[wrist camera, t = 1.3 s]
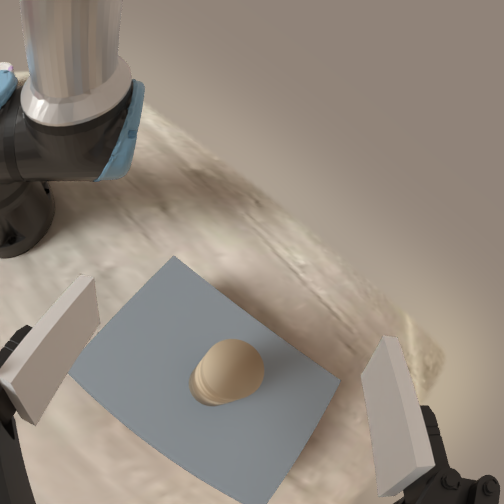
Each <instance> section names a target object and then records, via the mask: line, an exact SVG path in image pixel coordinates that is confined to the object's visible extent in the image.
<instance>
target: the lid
mask: <svg viewBox="0 0 504 504" xmlns="http://www.w3.org/2000/svg"><path fill="white" fill-rule="evenodd" d="M68 374H69V375H70V376H71V377H72V378H73V379H74V380H75V381H76V382H77V383H78V384H79V385H80V386H81V387H82V388H83V389H84V390H85V391H87V392H88V393H89V394H90V395H91V396H92V397H93V398H94V399H95V400H96V401H97V402H98V403H100V404H101V405H102V406H103V407H104V408H105V409H106V410H107V411H109V412H110V413H111V414H112V415H113V416H114V417H116V418H117V419H118V420H119V421H120V422H121V423H123V424H124V425H125V426H126V427H128V428H129V429H130V430H131V431H133V432H134V433H135V434H136V435H138V436H139V437H140V438H141V439H143V440H144V441H145V442H147V443H148V444H149V445H151V446H152V447H153V448H155V449H156V450H157V451H159V452H160V453H162V454H163V455H164V456H166V457H167V458H169V459H170V460H172V461H173V462H174V463H176V464H177V465H179V466H180V467H182V468H183V469H185V470H186V471H188V472H189V473H191V474H193V475H194V476H196V477H197V478H199V479H201V480H202V481H204V482H205V483H207V484H209V485H210V486H212V487H214V488H215V489H217V490H219V491H221V492H222V493H224V494H226V495H228V496H229V497H231V498H233V499H235V500H237V501H239V502H241V503H242V504H267V503H268V501H269V500H270V499H271V497H272V496H273V494H274V493H275V491H276V490H277V488H278V487H279V485H280V484H281V482H282V481H283V479H284V478H285V476H286V475H287V473H288V472H289V470H290V469H291V467H292V466H293V464H294V463H295V461H296V459H297V458H298V456H299V455H300V453H301V451H302V450H303V448H304V446H305V445H306V443H307V441H308V440H309V438H310V436H311V435H312V433H313V431H314V429H315V428H316V426H317V424H318V423H319V421H320V419H321V417H322V415H323V414H324V412H325V410H326V408H327V406H328V404H329V403H330V401H331V399H332V397H333V395H334V393H335V391H336V389H337V388H338V386H339V384H340V382H341V380H340V379H338V378H337V377H335V376H334V375H332V374H331V373H330V372H328V371H327V370H325V369H324V368H322V367H321V366H320V365H318V364H317V363H315V362H314V361H312V360H311V359H310V358H308V357H307V356H305V355H304V354H303V353H301V352H300V351H298V350H297V349H296V348H294V347H293V346H292V345H290V344H289V343H287V342H286V341H285V340H283V339H282V338H281V337H279V336H278V335H276V334H275V333H274V332H272V331H271V330H270V329H268V328H267V327H266V326H264V325H263V324H262V323H260V322H259V321H258V320H256V319H255V318H254V317H252V316H251V315H250V314H248V313H247V312H246V311H244V310H243V309H242V308H240V307H239V306H238V305H236V304H235V303H234V302H232V301H231V300H230V299H229V298H227V297H226V296H225V295H223V294H222V293H221V292H219V291H218V290H217V289H216V288H214V287H213V286H212V285H210V284H209V283H208V282H207V281H205V280H204V279H203V278H202V277H200V276H199V275H198V274H196V273H195V272H194V271H193V270H191V269H190V268H189V267H188V266H186V265H185V264H184V263H183V262H181V261H180V260H179V259H178V258H176V257H175V256H173V257H172V258H171V259H170V260H169V261H168V262H167V263H166V264H165V265H164V266H163V267H162V268H161V269H160V270H159V271H158V272H157V273H156V274H155V275H154V276H153V277H152V278H151V279H150V280H149V281H148V282H147V283H146V284H145V285H144V286H143V287H142V288H141V289H140V290H139V291H138V292H137V293H136V294H135V295H134V296H133V297H132V298H131V299H130V300H129V301H128V302H127V303H126V304H125V305H124V306H123V307H122V308H121V309H120V311H119V312H118V313H117V314H116V315H115V316H114V317H113V318H112V319H111V320H110V321H109V322H108V323H107V324H106V325H105V326H104V327H103V329H102V330H101V331H100V332H99V333H98V334H97V335H96V336H95V337H94V338H93V339H92V340H91V341H90V343H89V344H88V345H87V346H86V347H85V348H84V349H83V350H82V351H81V353H80V354H79V356H78V358H77V359H76V361H75V362H74V364H73V365H72V367H71V368H70V370H69V372H68Z"/></svg>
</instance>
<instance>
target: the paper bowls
mask: <svg viewBox="0 0 504 504" xmlns="http://www.w3.org/2000/svg"><path fill="white" fill-rule="evenodd" d="M0 70H9V71H10V72H13V73H14V69H13V66H12V65H11V64H10V63H6V62H0Z"/></svg>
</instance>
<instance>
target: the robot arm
mask: <svg viewBox="0 0 504 504" xmlns="http://www.w3.org/2000/svg"><path fill="white" fill-rule="evenodd" d="M122 2H123V0H20V9H21V18H22V28H23V36H24V42H25V49H26V55H27V61H28V67H29V72H30V76H29V77H28V79H27V80H26V82H25V84H24V86H17V84H18V80H17V78H16V77H15V75H14V73H13V72H10V71H9V70H0V258H9V257H14V256H17V255H19V254H22V253H24V252H25V251H27V250H29V249H30V248H32V247H33V246H34V245H35V244H36V243H38V242H39V241H40V239H41V238H42V237H43V236H44V235H45V233H46V232H47V230H48V228H49V226H50V224H51V222H52V219H53V216H54V208H55V206H54V199H53V195H52V192H51V189H50V186H49V184H48V183H47V181H93V182H99V181H101V180H113V179H120V178H122V177H123V176H125V175H126V174H127V172H128V171H129V169H130V166H131V163H132V159H133V154H134V149H135V144H136V139H137V132H138V127H139V123H140V118H141V112H142V106H143V100H144V92H145V86H144V84H143V83H142V82H140V81H136V80H135V79H132V75H131V70H130V67H129V65H128V63H127V62H126V61H125V60H124V59H123V58H122V57H120V56H119V55H118V44H119V31H120V20H121V11H122ZM99 324H100V318H99V311H98V304H97V297H96V289H95V280H94V277H90V276H86V275H83V274H80V275H79V276H78V277H77V278H76V279H75V280H74V282H73V283H72V284H71V285H70V286H69V287H68V288H67V289H66V290H65V291H64V292H63V293H62V295H61V296H60V297H59V298H58V299H57V300H56V301H55V302H54V304H53V305H52V306H51V307H50V308H49V309H48V310H47V312H46V313H45V314H44V315H43V316H42V317H41V318H40V320H39V321H38V322H37V323H36V324H35V326H34V327H30V326H28V325H26V326H24V327H23V328H21V329H19V330H18V331H16V333H15V334H14V335H13V336H12V337H11V339H10V341H8V342H7V343H6V345H5V347H3V348H2V349H1V351H0V504H36V503H35V500H34V497H33V493H32V490H31V487H30V483H29V480H28V476H27V473H26V469H25V465H24V461H23V457H22V452H21V448H20V443H19V439H18V433H17V428H16V422H15V419H14V416H13V415H14V413H15V412H16V411H17V412H18V414H19V415H20V417H21V418H22V419H24V420H25V421H27V422H29V423H31V424H33V425H35V426H36V425H37V423H38V422H39V420H40V418H41V416H42V415H43V413H44V411H45V409H46V408H47V406H48V404H49V403H50V401H51V399H52V398H53V396H54V394H55V393H56V391H57V389H58V388H59V386H60V384H61V383H62V381H63V380H64V378H65V376H66V375H67V373H68V372H69V370H70V368H71V367H72V365H73V364H74V362H75V361H76V359H77V358H78V356H79V354H80V353H81V351H82V350H83V348H84V347H85V345H86V344H87V342H88V341H89V339H90V338H91V336H92V335H93V333H94V332H95V330H96V329H97V327H98V326H99ZM361 380H362V386H363V391H364V397H365V403H366V409H367V415H368V421H369V428H370V435H371V442H372V449H373V456H374V464H375V472H376V481H377V490H378V497H386V496H395V495H397V494H398V493H400V492H401V491H403V492H404V497H402V498H401V499H399V500H398V501H397V502H395V503H394V504H498V503H499V495H500V485H499V483H498V481H497V480H496V478H495V477H493V476H491V475H485V476H483V477H481V478H480V479H479V480H477V481H476V480H470V479H465V478H461V476H460V474H459V473H458V472H457V471H456V470H455V469H452V468H450V466H449V464H448V460H447V456H446V452H445V448H444V445H443V441H442V437H441V436H440V430H439V428H438V424H437V420H436V417H435V414H434V413H433V412H432V410H431V409H430V407H429V406H420V405H419V401H418V398H417V395H416V391H415V388H414V385H413V382H412V379H411V375H410V372H409V369H408V366H407V363H406V360H405V357H404V354H403V351H402V348H401V345H400V343H399V340H398V337H393V336H385V335H383V336H382V338H381V340H380V342H379V344H378V346H377V348H376V349H375V351H374V353H373V355H372V357H371V358H370V360H369V362H368V364H367V365H366V367H365V369H364V371H363V372H362V374H361Z"/></svg>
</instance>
